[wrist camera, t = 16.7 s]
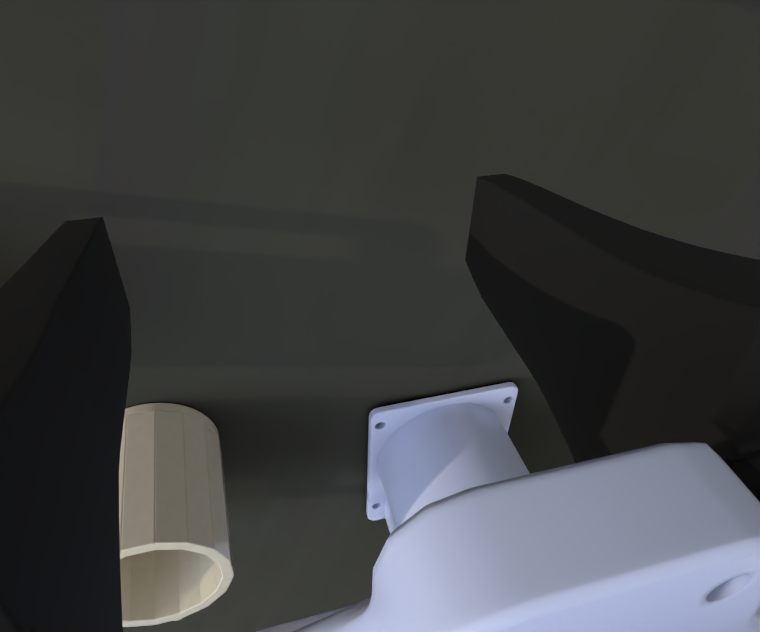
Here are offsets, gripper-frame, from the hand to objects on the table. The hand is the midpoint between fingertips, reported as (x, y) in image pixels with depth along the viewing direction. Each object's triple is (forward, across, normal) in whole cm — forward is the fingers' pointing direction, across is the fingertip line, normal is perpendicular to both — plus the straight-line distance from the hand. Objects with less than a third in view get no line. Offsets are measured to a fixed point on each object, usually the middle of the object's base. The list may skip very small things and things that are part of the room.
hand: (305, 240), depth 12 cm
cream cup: (+9, +6, +17) cm, 20 cm away
